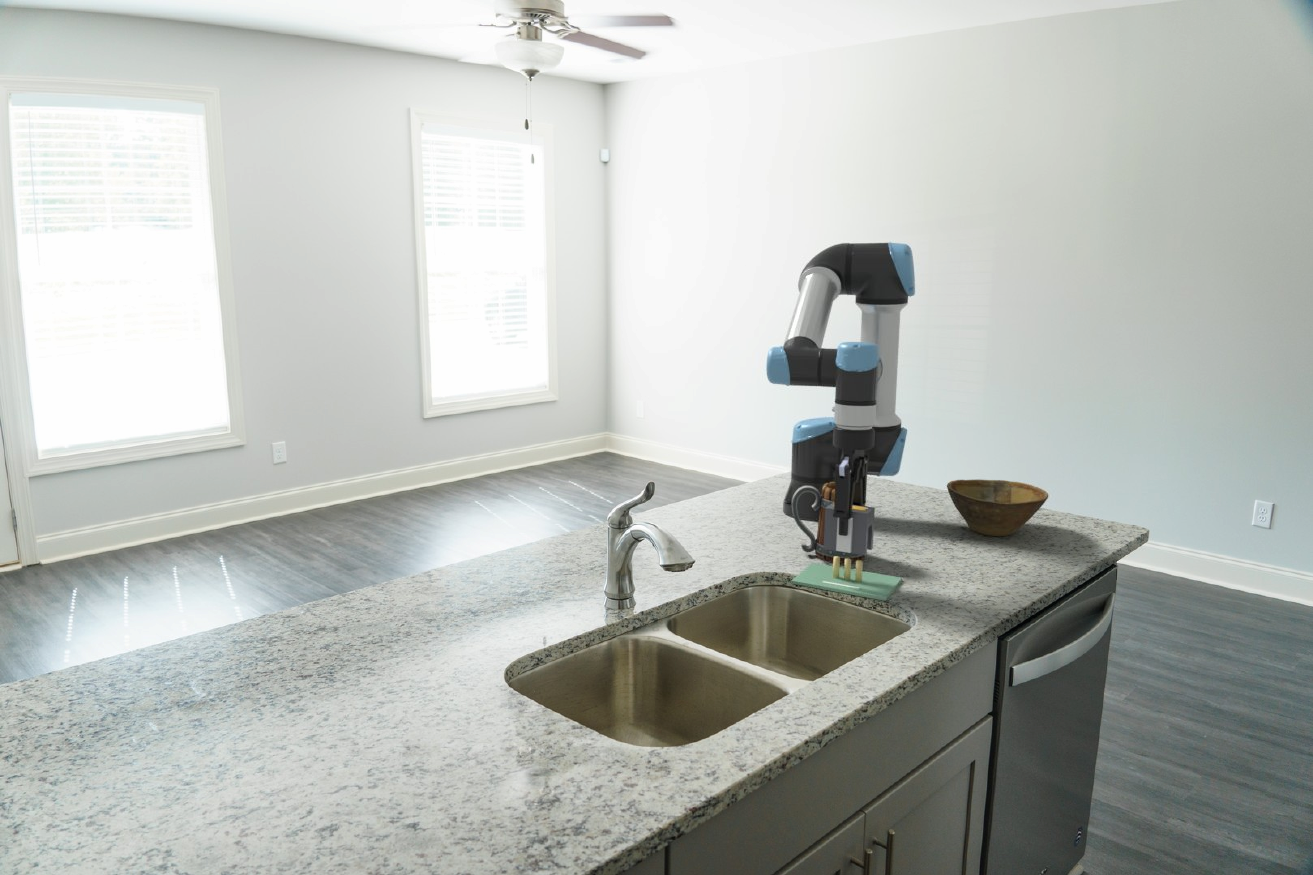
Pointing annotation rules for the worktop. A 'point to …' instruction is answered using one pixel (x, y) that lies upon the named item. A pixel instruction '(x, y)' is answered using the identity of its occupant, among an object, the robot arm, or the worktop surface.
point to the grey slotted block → (860, 532)
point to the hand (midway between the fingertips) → (848, 547)
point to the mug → (820, 523)
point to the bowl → (995, 504)
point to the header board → (847, 580)
